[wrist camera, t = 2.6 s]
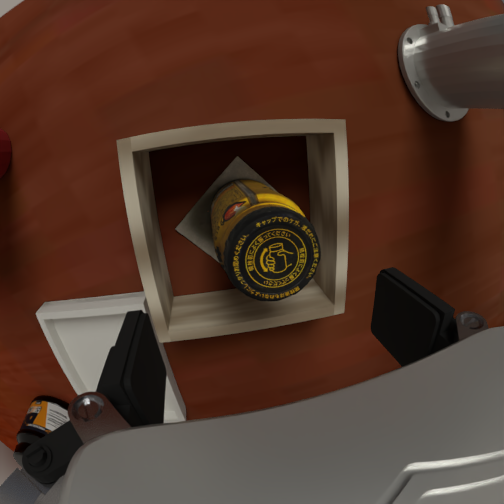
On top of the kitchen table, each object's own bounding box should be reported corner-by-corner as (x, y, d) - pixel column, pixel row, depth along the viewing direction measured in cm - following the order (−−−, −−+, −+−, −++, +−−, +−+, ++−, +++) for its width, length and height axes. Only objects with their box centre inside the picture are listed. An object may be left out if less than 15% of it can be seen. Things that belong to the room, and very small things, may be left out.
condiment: (295, 208, 26) (358, 252, 15) (235, 274, 28) (257, 354, 17) (237, 155, 24) (265, 158, 13) (175, 228, 25) (155, 288, 14)
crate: (136, 142, 22) (116, 140, 16) (315, 125, 24) (345, 119, 18) (166, 306, 28) (159, 342, 22) (319, 283, 30) (344, 312, 24)
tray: (44, 302, 25) (35, 313, 23) (147, 291, 27) (143, 303, 24) (100, 410, 32) (96, 422, 29) (185, 408, 33) (186, 422, 31)
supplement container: (67, 391, 30) (43, 457, 19) (103, 434, 34) (92, 494, 22) (22, 391, 29) (-4, 446, 18) (57, 432, 33) (42, 484, 22)
